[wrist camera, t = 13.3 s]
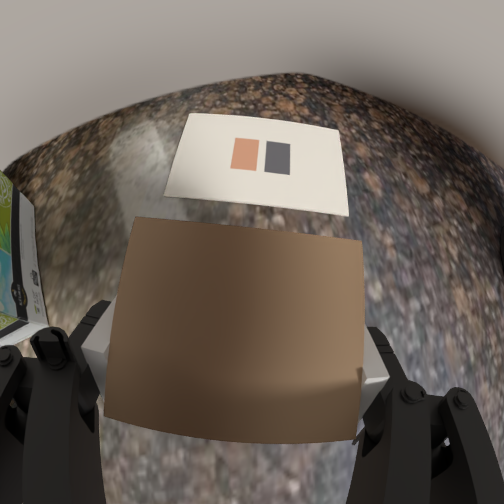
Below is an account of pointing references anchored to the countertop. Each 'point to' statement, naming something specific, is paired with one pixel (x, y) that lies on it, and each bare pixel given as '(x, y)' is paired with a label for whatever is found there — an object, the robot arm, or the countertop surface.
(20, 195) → the tea box
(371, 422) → the robot arm
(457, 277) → the countertop surface
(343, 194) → the tile
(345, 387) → the walnut block
